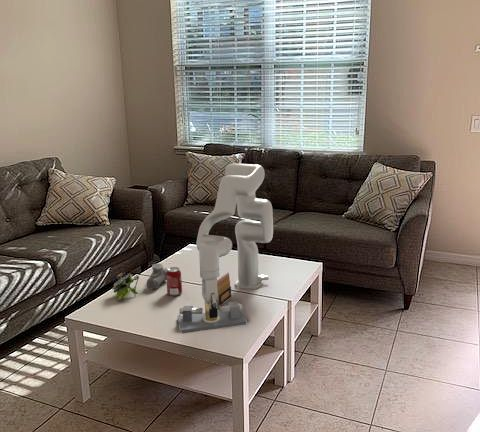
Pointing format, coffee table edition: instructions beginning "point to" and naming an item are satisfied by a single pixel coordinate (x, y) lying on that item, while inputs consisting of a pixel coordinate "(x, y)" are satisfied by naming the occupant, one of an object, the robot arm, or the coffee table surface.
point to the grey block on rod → (189, 312)
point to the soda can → (174, 281)
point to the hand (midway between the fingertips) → (211, 312)
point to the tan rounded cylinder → (208, 312)
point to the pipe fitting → (157, 276)
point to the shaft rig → (225, 318)
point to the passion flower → (124, 285)
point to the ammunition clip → (223, 289)
